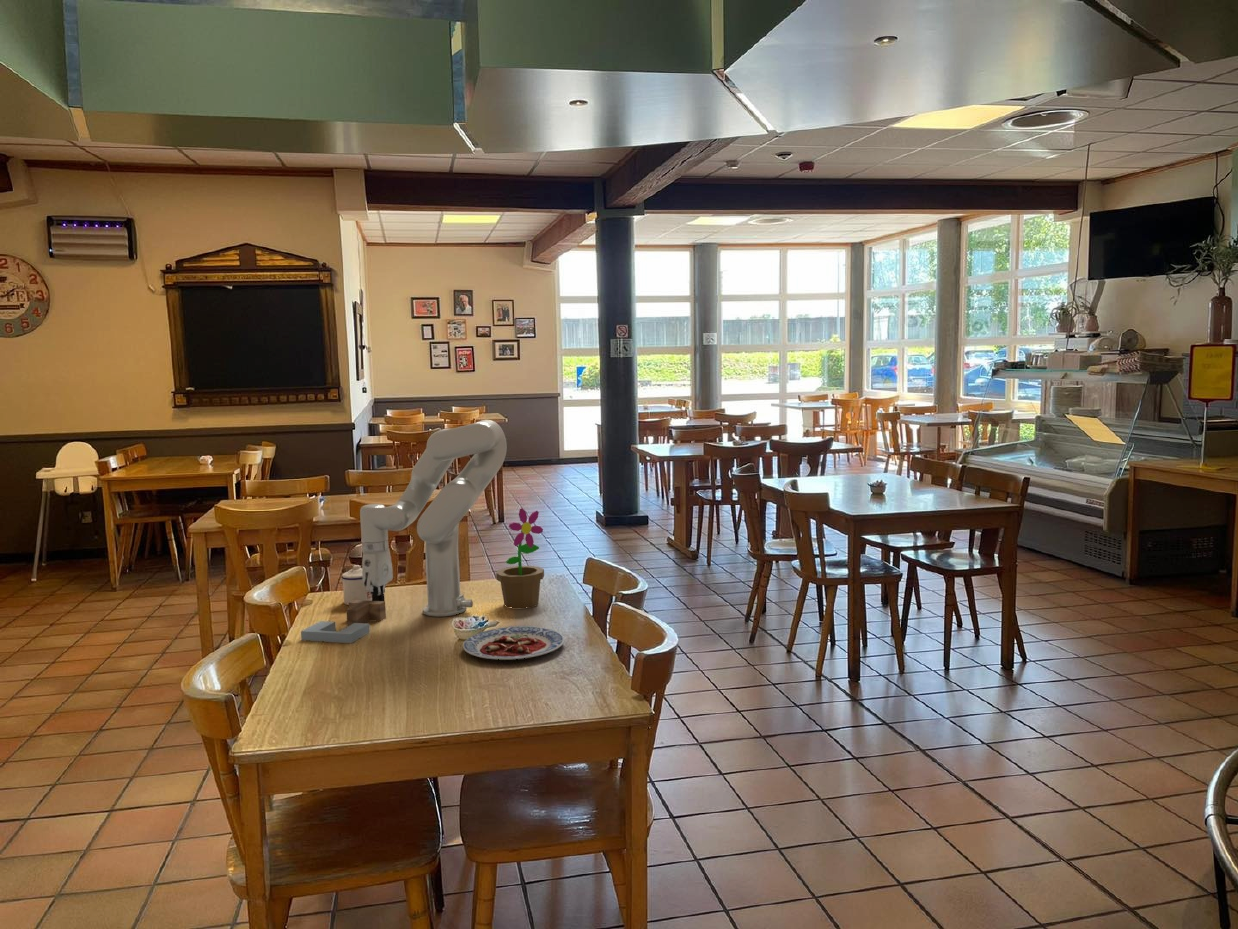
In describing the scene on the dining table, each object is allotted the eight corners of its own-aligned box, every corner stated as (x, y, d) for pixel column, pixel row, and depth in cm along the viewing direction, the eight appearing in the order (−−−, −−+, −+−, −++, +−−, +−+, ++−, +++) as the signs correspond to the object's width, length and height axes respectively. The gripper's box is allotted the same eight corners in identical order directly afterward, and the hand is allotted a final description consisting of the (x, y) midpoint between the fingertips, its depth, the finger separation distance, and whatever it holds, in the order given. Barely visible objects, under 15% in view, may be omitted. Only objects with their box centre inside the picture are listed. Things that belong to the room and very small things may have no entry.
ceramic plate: (540, 671, 214) (539, 659, 214) (444, 661, 223) (443, 650, 222) (579, 638, 239) (579, 627, 238) (491, 631, 247) (491, 620, 247)
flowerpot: (516, 613, 262) (512, 512, 259) (488, 604, 273) (483, 506, 269) (554, 603, 272) (551, 505, 268) (526, 595, 282) (522, 500, 279)
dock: (369, 632, 248) (369, 623, 247) (351, 643, 238) (350, 634, 238) (321, 629, 251) (320, 621, 251) (301, 640, 242) (300, 631, 242)
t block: (386, 618, 261) (385, 601, 261) (368, 628, 252) (367, 611, 251) (355, 616, 264) (354, 599, 263) (336, 626, 254) (335, 609, 254)
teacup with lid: (374, 604, 276) (372, 567, 275) (343, 607, 274) (341, 570, 272) (372, 595, 288) (370, 559, 286) (342, 598, 285) (340, 561, 284)
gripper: (373, 552, 257) (377, 615, 259) (399, 541, 271) (402, 601, 273) (350, 551, 259) (353, 613, 261) (376, 540, 273) (380, 600, 275)
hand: (378, 607), depth 267 cm, fingers closed
